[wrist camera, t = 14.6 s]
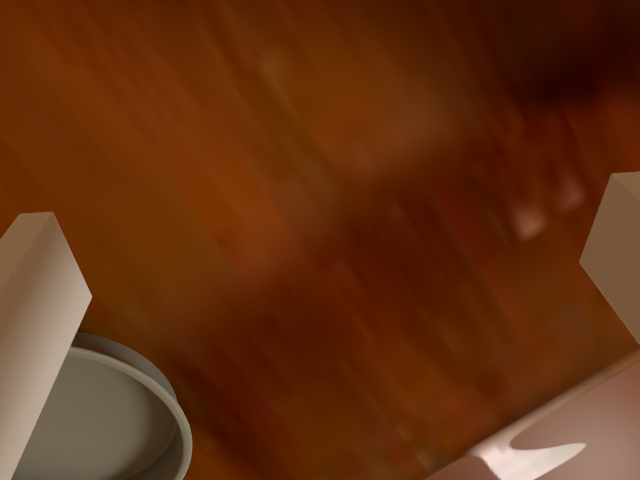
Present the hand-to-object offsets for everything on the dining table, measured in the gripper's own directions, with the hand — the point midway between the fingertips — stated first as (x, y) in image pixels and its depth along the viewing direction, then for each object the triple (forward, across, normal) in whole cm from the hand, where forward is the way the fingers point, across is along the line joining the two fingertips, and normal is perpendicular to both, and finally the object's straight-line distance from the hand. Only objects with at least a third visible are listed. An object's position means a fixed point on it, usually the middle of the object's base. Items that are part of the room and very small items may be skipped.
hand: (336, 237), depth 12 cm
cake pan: (+19, -26, -34) cm, 47 cm away
